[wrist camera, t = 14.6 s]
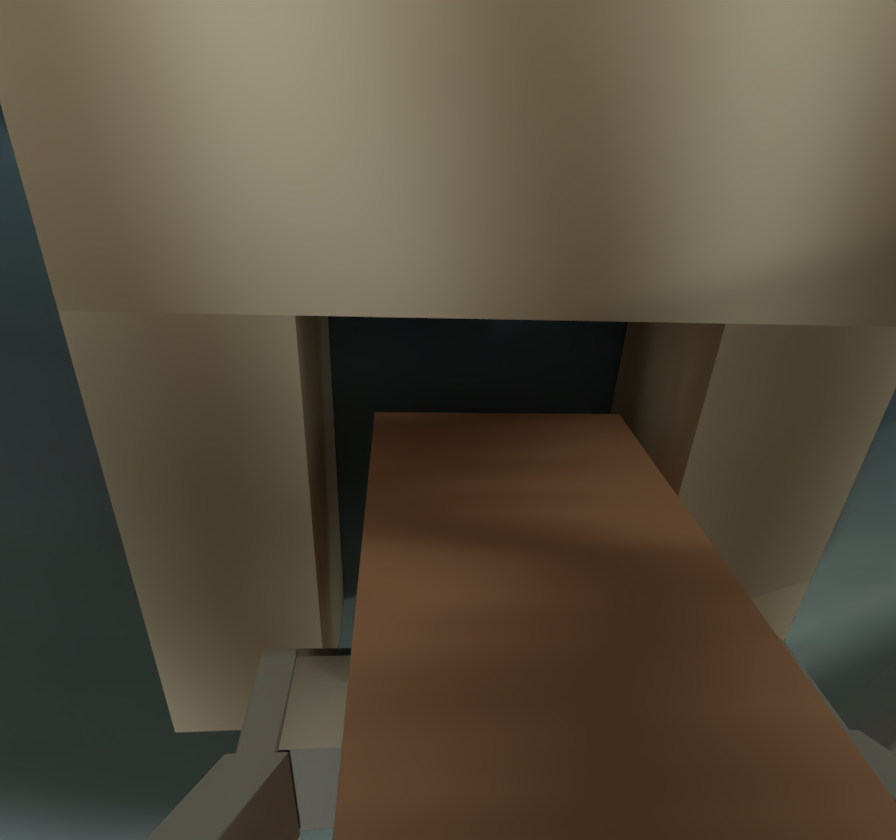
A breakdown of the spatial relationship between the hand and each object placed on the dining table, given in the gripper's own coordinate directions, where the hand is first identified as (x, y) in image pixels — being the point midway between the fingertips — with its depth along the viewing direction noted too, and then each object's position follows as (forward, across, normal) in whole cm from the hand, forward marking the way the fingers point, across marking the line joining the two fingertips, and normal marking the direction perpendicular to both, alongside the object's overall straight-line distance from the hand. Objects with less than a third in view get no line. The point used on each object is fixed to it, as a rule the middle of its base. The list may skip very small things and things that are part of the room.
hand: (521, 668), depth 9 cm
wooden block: (+4, 0, 0) cm, 4 cm away
